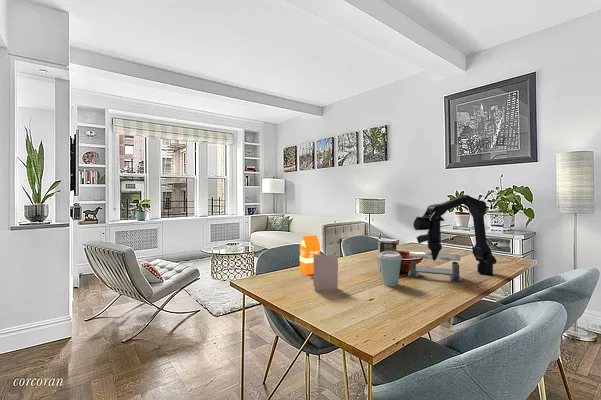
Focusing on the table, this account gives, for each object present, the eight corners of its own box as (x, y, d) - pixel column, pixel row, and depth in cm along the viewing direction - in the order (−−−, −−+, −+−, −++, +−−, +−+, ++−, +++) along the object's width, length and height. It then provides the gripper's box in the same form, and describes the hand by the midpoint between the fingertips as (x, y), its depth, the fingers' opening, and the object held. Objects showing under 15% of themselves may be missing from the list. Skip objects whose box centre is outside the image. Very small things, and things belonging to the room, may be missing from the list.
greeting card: (338, 287, 141) (338, 255, 140) (335, 292, 133) (335, 258, 133) (313, 285, 144) (313, 253, 143) (310, 290, 136) (310, 257, 136)
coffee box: (379, 271, 168) (379, 242, 168) (377, 268, 174) (377, 240, 174) (396, 272, 167) (396, 242, 167) (394, 269, 174) (394, 241, 173)
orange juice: (299, 271, 169) (299, 235, 169) (313, 269, 173) (313, 234, 172) (305, 274, 162) (305, 237, 162) (320, 272, 166) (320, 236, 165)
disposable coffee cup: (403, 288, 139) (403, 255, 139) (378, 287, 141) (378, 254, 141) (400, 281, 149) (400, 251, 149) (377, 280, 152) (377, 250, 151)
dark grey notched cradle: (460, 277, 157) (460, 261, 157) (462, 282, 149) (462, 265, 148) (408, 272, 166) (408, 257, 166) (407, 276, 158) (408, 261, 158)
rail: (459, 260, 154) (459, 254, 154) (460, 261, 151) (460, 255, 151) (409, 256, 163) (409, 250, 163) (409, 257, 160) (409, 252, 160)
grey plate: (456, 270, 170) (456, 269, 170) (458, 275, 160) (458, 274, 160) (410, 266, 179) (410, 265, 179) (409, 271, 169) (409, 270, 169)
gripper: (417, 227, 168) (417, 255, 169) (417, 231, 151) (417, 262, 151) (439, 227, 164) (439, 256, 165) (442, 232, 147) (441, 264, 147)
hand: (433, 259), depth 157 cm, fingers closed on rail, 3 cm apart
